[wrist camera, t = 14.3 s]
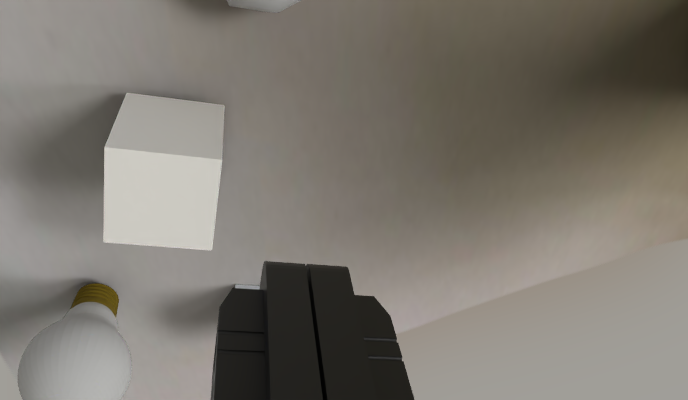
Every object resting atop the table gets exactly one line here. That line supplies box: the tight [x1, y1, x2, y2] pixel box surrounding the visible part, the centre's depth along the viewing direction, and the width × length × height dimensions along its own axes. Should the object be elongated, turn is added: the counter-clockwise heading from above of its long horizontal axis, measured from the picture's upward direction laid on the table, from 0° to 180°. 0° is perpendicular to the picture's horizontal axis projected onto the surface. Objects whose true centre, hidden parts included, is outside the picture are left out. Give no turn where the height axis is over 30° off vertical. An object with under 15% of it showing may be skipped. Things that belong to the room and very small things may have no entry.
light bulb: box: [18, 283, 132, 400], centre depth 37 cm, size 6×6×10 cm
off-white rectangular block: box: [103, 93, 225, 251], centre depth 33 cm, size 5×5×7 cm
